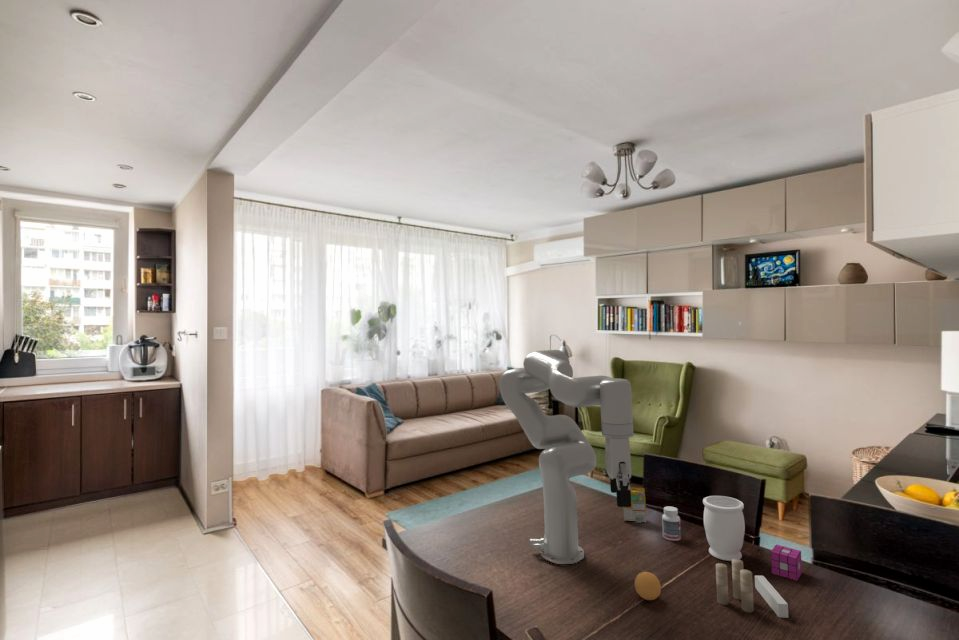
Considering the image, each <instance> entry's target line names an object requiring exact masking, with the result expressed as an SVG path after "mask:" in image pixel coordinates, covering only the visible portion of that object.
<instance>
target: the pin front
mask: <svg viewBox="0 0 959 640" xmlns="http://www.w3.org/2000/svg"><path fill="white" fill-rule="evenodd" d="M715 578H716V579H715V581H716V582H715V583H716V599H717V600H716V601H717V603H718V604H720V605H723V606H727V605H729V581H728V566H727V564H725V563H720V562H718V563H716V564H715Z"/></svg>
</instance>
